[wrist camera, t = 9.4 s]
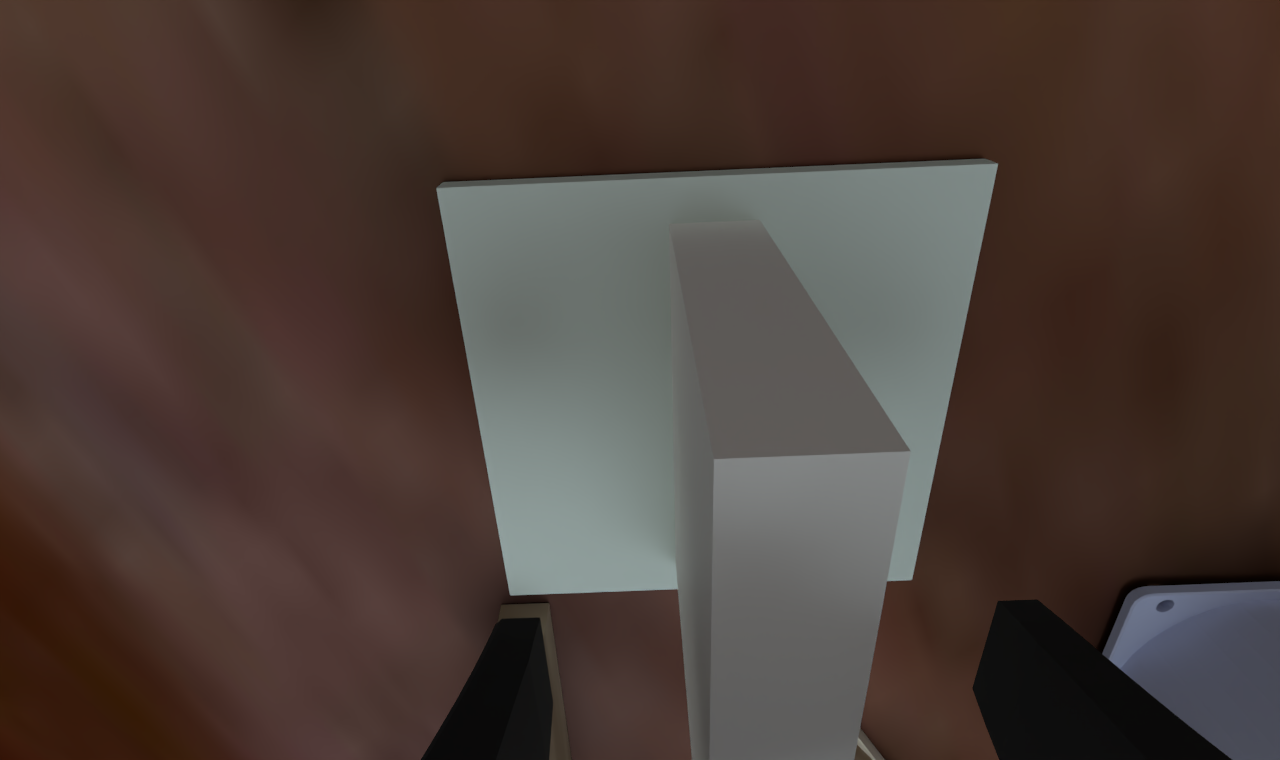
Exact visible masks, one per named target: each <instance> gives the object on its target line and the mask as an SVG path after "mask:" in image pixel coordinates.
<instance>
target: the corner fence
mask: <svg viewBox="0 0 1280 760" xmlns="http://www.w3.org/2000/svg"><path fill="white" fill-rule="evenodd" d="M535 617H540V620H541V626H542V633H543V639H544V646H545V652H546V659H547V665H548V672H549V678H550V685H551V691H552V698H553V713H552V728H551V742H550V755H549V760H572V759H571V752H570V745H569V738H568V731H567V724H566V717H565V710H564V703H563V696H562V689H561V682H560V675H559V669H558V662H557V655H556V648H555V641H554V634H553V627H552V620H551V613H550V606H549V603H535V604H509V605H501V609H500V613H499V618H498V622H499V621H500V620H501V619H507V618H535ZM498 622H497V623H498Z"/></svg>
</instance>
